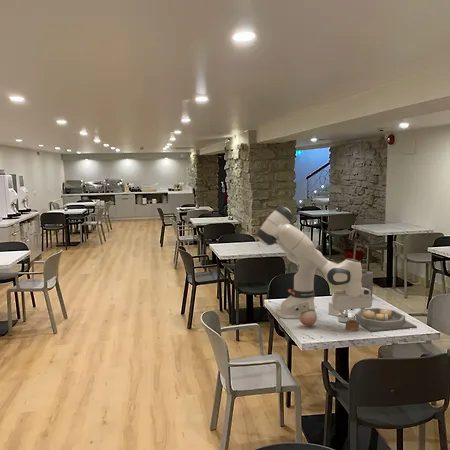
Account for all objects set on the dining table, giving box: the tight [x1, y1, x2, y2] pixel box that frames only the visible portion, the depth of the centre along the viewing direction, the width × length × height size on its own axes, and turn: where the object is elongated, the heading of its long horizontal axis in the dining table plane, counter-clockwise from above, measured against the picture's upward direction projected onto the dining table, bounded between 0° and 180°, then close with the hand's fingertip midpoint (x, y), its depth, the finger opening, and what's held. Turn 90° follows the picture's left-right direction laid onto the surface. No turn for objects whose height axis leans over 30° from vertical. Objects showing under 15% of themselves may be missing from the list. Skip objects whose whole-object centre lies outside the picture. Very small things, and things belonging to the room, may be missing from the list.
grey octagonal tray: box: [354, 307, 418, 333], centre depth 241 cm, size 26×26×6 cm
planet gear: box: [345, 319, 360, 332], centre depth 230 cm, size 6×6×4 cm
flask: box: [361, 268, 374, 298], centre depth 282 cm, size 15×6×20 cm, turn 118°
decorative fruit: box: [298, 308, 318, 328], centre depth 235 cm, size 9×8×10 cm
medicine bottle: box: [328, 293, 340, 317], centre depth 255 cm, size 7×7×12 cm
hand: (352, 317), depth 230 cm, fingers open, 8 cm apart
